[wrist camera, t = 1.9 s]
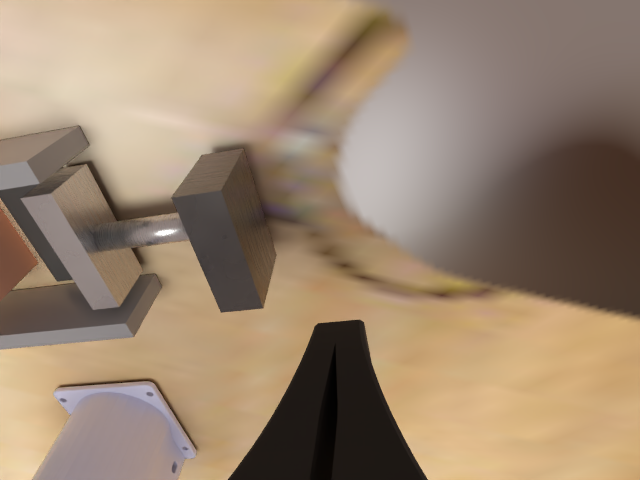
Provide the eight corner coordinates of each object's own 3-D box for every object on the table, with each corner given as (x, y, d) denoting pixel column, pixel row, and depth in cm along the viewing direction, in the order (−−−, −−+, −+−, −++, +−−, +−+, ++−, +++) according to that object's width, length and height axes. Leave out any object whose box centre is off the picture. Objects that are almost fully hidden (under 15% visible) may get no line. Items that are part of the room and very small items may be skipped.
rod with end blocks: (279, 254, 23) (264, 313, 20) (118, 273, 25) (77, 331, 21) (244, 137, 20) (218, 183, 16) (59, 168, 21) (-4, 216, 18)
